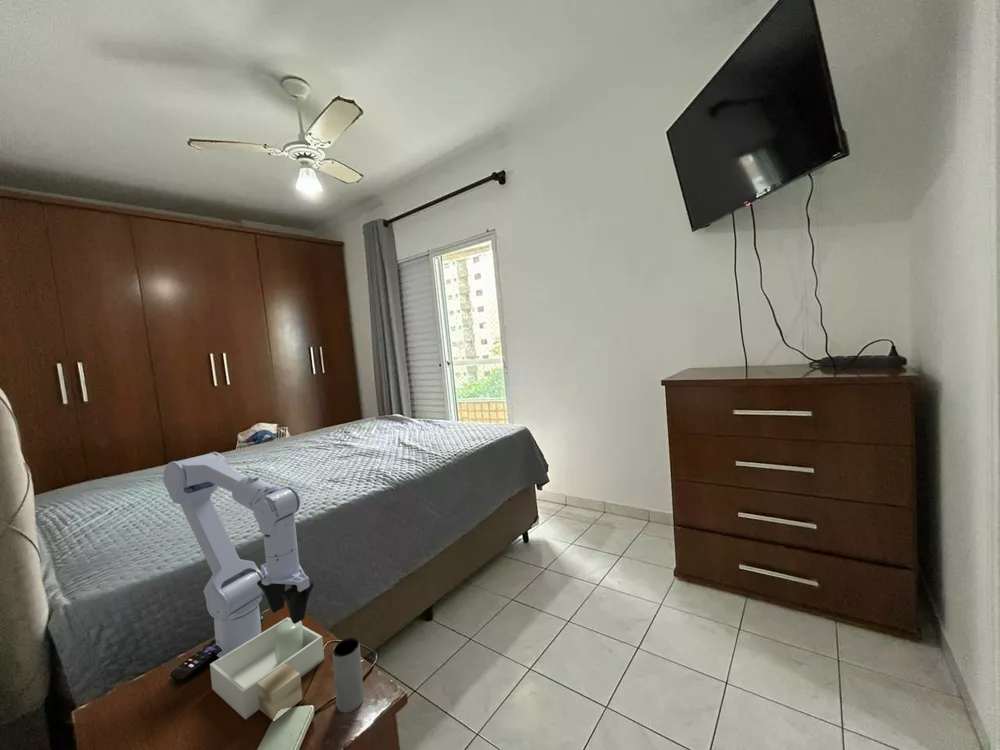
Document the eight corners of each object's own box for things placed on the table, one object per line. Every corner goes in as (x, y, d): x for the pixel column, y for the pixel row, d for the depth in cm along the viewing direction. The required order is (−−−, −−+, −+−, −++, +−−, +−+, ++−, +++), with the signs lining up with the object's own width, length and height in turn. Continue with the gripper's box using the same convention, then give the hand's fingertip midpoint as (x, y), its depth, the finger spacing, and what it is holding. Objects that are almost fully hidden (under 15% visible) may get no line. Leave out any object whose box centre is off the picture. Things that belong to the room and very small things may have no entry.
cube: (259, 709, 69) (257, 682, 69) (287, 688, 73) (285, 663, 73) (274, 722, 66) (272, 694, 66) (302, 699, 71) (300, 673, 70)
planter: (354, 714, 67) (350, 657, 66) (331, 711, 68) (326, 655, 67) (368, 692, 71) (364, 638, 71) (346, 689, 72) (342, 636, 72)
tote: (212, 689, 74) (209, 664, 74) (289, 638, 87) (287, 617, 86) (245, 719, 67) (242, 692, 67) (324, 659, 80) (322, 636, 80)
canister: (294, 648, 83) (292, 616, 83) (309, 656, 80) (307, 623, 80) (271, 664, 78) (269, 631, 78) (285, 673, 76) (283, 639, 76)
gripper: (242, 551, 79) (249, 616, 79) (281, 567, 71) (288, 639, 72) (277, 537, 85) (283, 597, 85) (316, 550, 77) (323, 616, 77)
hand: (288, 615), depth 79 cm, fingers open, 7 cm apart
